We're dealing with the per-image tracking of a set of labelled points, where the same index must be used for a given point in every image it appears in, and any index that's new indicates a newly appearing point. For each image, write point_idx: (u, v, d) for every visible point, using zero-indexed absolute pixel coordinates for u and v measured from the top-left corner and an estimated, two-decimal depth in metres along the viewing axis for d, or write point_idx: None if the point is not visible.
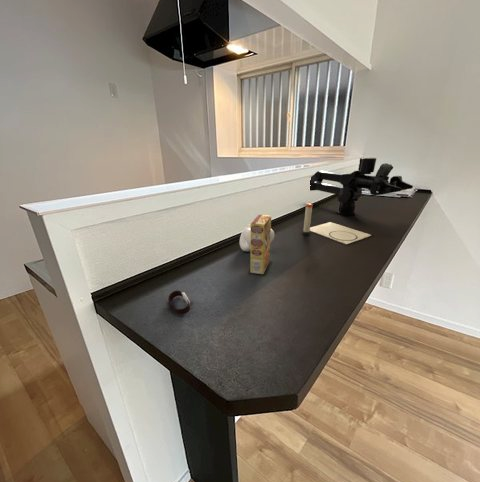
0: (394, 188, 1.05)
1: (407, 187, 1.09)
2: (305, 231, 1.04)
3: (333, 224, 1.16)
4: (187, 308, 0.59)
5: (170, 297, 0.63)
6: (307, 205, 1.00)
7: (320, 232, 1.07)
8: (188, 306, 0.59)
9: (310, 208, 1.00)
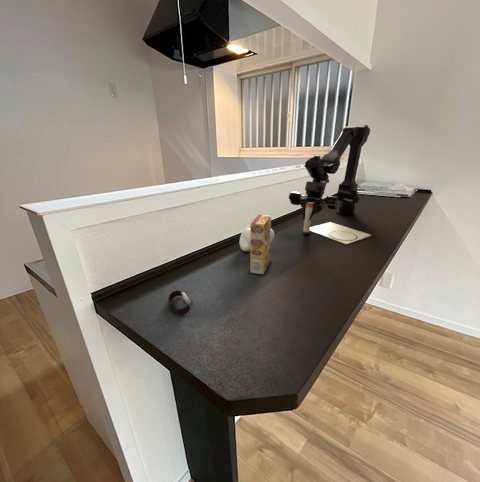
0: None
1: None
2: (305, 231, 1.04)
3: (333, 224, 1.16)
4: (187, 308, 0.59)
5: (170, 297, 0.63)
6: (307, 205, 1.00)
7: (320, 232, 1.07)
8: (188, 306, 0.59)
9: (310, 208, 1.00)
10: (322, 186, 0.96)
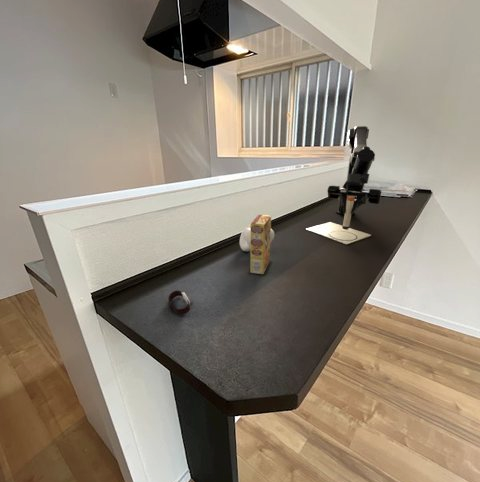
0: None
1: (352, 210, 0.99)
2: (345, 225, 1.01)
3: (333, 224, 1.16)
4: (187, 308, 0.59)
5: (170, 297, 0.63)
6: (349, 198, 0.96)
7: (320, 232, 1.07)
8: (188, 306, 0.59)
9: (352, 201, 0.97)
10: (366, 178, 0.93)
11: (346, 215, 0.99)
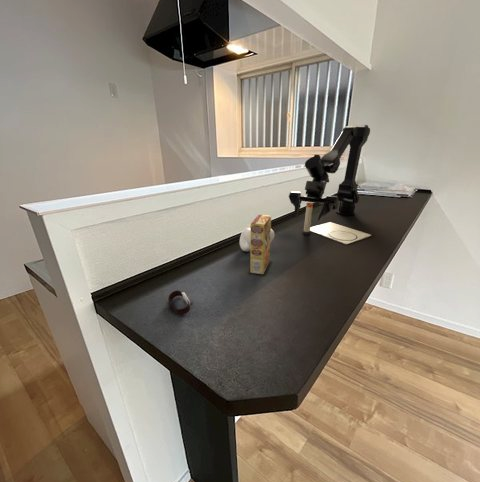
0: None
1: None
2: (305, 231, 1.05)
3: (333, 224, 1.16)
4: (187, 308, 0.59)
5: (170, 297, 0.63)
6: (307, 205, 1.00)
7: (320, 232, 1.07)
8: (188, 306, 0.59)
9: (310, 208, 1.00)
10: (322, 185, 0.96)
11: (306, 221, 1.03)
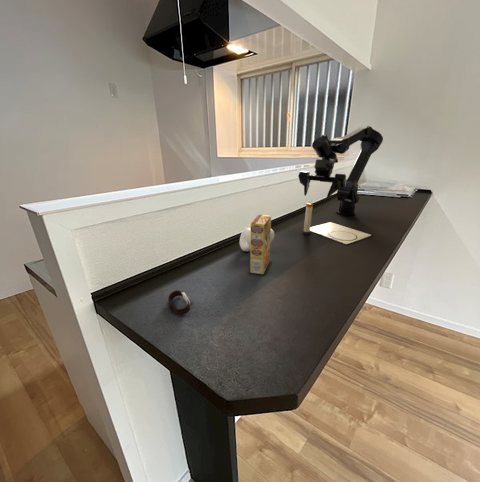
0: None
1: None
2: (305, 231, 1.05)
3: (333, 224, 1.16)
4: (187, 308, 0.59)
5: (170, 297, 0.63)
6: (307, 205, 1.00)
7: (320, 232, 1.07)
8: (188, 306, 0.59)
9: (310, 208, 1.00)
10: (331, 163, 1.01)
11: (306, 221, 1.03)
